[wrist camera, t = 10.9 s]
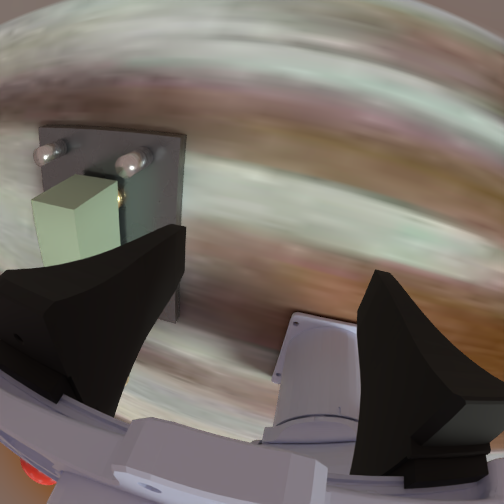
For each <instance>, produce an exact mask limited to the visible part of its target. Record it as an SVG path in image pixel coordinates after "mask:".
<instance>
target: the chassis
mask: <svg viewBox="0 0 504 504" xmlns="http://www.w3.org/2000/svg"><path fill="white" fill-rule="evenodd" d="M186 136H187V135H183V134H175V133H166V132H157V131H147V130H137V129H125V128H112V127H95V126H74V125H45V126H42V127H39V141H40V147H39V148H37V149H35V151H34V155H33V156H34V161H35V163H36V164H37V165H38V166H41V168H42V178H43V187H44V192H45V191H47V190H48V189H50V188H52V187H54V186H55V185H57V184H59V183H60V182H62V181H64V180H66V179H68V178H69V177H71V176H73V175H75V174H78V175H84V176H91V177H97V178H103V179H109V180H115V181H118V211H119V229H120V244H121V245H123V244H126V243H128V242H131V241H133V240H135V239H137V238H139V237H142V236H144V235H146V234H148V233H150V232H152V231H155V230H157V229H159V228H161V227H164V226H166V225H169V224H175V225H180V226H181V211H182V192H183V175H184V161H185V148H186ZM178 318H179V284H178V286H177V289H176V291H175V292H174V294H173V296H172V297H171V299H170V300H169V302H168V304H167V305H166V307H165V308H164V310H163V311H162V313H161V314H160V316H159V319H162V320H165V321H169V322H172V323H176V321H177V320H178Z"/></svg>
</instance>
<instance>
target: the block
mask: <svg viewBox="0 0 504 504" xmlns="http://www.w3.org/2000/svg"><path fill="white" fill-rule="evenodd" d="M31 203H32V210H33V216H34V222H35V227H36V232H37V237H38V242H39V247H40V251H41V256H42V260H43V264H44V267H47V266H53V265H59V264H64V263H68V262H72V261H76V260H80V259H84V258H88V257H91V256H94V255H97V254H100V253H103V252H106V251H109V250H111V249H114V248H116V247H119V246H121V244H120V229H119V211H118V181H115V180H109V179H103V178H97V177H91V176H84V175H78V174H75V175H73V176H71V177H69V178H68V179H66V180H64V181H62V182H60V183H59V184H57V185H55V186H54V187H52V188H50V189H48V190H47V191H45V192H43V193H42V194H40V195H38V196H37V197H35V198H33V199H32V200H31Z"/></svg>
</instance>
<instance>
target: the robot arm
mask: <svg viewBox="0 0 504 504" xmlns="http://www.w3.org/2000/svg"><path fill="white" fill-rule="evenodd" d="M185 242H186V227H185V226H180V225H175V224H169V225H166V226H164V227H161V228H159V229H157V230H155V231H152V232H150V233H148V234H146V235H144V236H142V237H139V238H137V239H135V240H133V241H131V242H128V243H126V244H123V245H121V246H119V247H116V248H114V249H111V250H109V251H106V252H103V253H100V254H97V255H94V256H91V257H88V258H84V259H80V260H76V261H72V262H68V263H64V264H59V265H53V266H47V267H40V268H32V269H17V270H6V271H5V272H4V273H3V274H2V275H0V442H1V443H3V444H4V445H5V446H6V447H8V448H9V449H10V450H11V451H13V452H14V453H15V454H17V455H18V456H19V457H21V458H22V459H23V460H25V461H26V462H28V463H29V464H30V465H32V466H33V467H35V468H36V469H38V470H39V471H41V472H42V473H44V474H45V475H47V476H48V477H50V478H51V479H53V480H54V481H56V482H57V484H56V486H55V488H54V490H53V491H52V493H51V495H50V498H49V500H48V501H47V504H504V458H498V459H494V460H491V461H489V462H487V460H486V455H487V454H489V453H490V451H491V448H490V442H491V441H492V440H493V439H494V438H496V437H497V436H498V435H499V434H500V433H501V432H503V431H504V382H503V381H501V380H499V379H498V378H496V377H494V376H493V375H491V374H490V373H488V372H487V371H485V370H484V369H482V368H481V367H480V366H478V365H477V364H476V363H474V362H473V361H472V360H470V359H469V358H468V357H467V356H466V355H464V354H463V353H462V352H461V351H460V350H458V349H457V348H456V347H455V346H454V345H453V344H452V343H451V342H450V341H449V340H448V339H447V338H446V337H445V336H444V335H443V334H442V333H441V332H440V331H439V330H438V329H437V328H436V327H435V326H434V325H433V324H432V323H431V322H430V320H429V319H428V318H427V317H426V316H425V315H424V314H423V312H422V311H421V310H420V309H419V307H418V306H417V305H416V304H415V303H414V301H413V300H412V299H411V298H410V296H409V295H408V294H407V292H406V291H405V290H404V289H403V287H402V286H401V285H400V284H399V282H398V281H397V280H396V279H395V278H394V277H393V276H392V275H391V274H390V273H388V272H384V271H380V270H375V271H374V274H373V276H372V278H371V281H370V283H369V286H368V288H367V290H366V293H365V295H364V297H363V300H362V302H361V304H360V306H359V309H358V311H357V324H353V323H348V322H343V321H338V320H333V319H328V318H323V317H319V316H314V315H309V314H304V313H300V312H295V313H293V314H292V316H291V319H290V322H289V326H288V329H287V332H286V335H285V338H284V341H283V345H282V348H281V351H280V354H279V357H278V360H277V363H276V366H275V369H274V372H273V375H272V379H271V380H272V382H274V383H277V384H280V390H279V396H278V401H277V407H276V412H275V418H274V423H273V427H265V429H264V434H263V439H262V440H254V441H252V442H251V443H249V442H245V441H240V440H236V439H232V438H228V437H224V436H220V435H216V434H212V433H209V432H205V431H202V430H198V429H195V428H191V427H188V426H185V425H182V424H179V423H175V422H172V421H167V420H162V419H158V418H154V417H149V418H141V419H135V420H132V422H131V424H128V423H125V422H123V421H120V420H118V419H116V418H114V415H115V412H116V409H117V406H118V403H119V400H120V397H121V395H122V392H123V389H124V387H125V384H126V381H127V379H128V376H129V374H130V372H131V369H132V367H133V364H134V362H135V360H136V358H137V355H138V353H139V351H140V349H141V347H142V345H143V343H144V340H145V339H146V337H147V335H148V333H149V332H150V330H151V328H152V327H153V325H154V324H155V322H156V321H157V319H158V318H159V316H160V314H161V313H162V311H163V310H164V308H165V307H166V305H167V304H168V302H169V300H170V299H171V297H172V296H173V294H174V292H175V291H176V289H177V286H178V284H179V282H180V280H181V278H182V276H183V273H184V271H185ZM294 322H298V323H294Z"/></svg>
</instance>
